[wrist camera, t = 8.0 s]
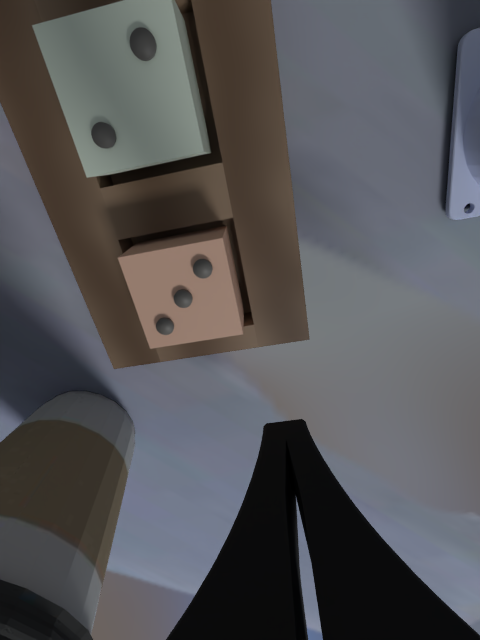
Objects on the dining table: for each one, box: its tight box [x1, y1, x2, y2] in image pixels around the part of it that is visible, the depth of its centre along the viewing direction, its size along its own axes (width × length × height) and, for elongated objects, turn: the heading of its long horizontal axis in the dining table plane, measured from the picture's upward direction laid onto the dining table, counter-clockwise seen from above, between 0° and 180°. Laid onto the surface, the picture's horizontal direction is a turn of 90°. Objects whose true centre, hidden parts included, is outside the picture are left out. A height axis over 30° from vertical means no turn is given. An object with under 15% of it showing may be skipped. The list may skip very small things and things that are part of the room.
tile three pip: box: [118, 226, 244, 349], centre depth 18 cm, size 5×5×3 cm
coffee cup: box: [0, 391, 135, 640], centre depth 19 cm, size 11×11×15 cm
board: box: [0, 0, 309, 369], centre depth 15 cm, size 12×26×2 cm, turn 11°
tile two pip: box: [32, 0, 211, 178], centre depth 14 cm, size 5×5×3 cm
